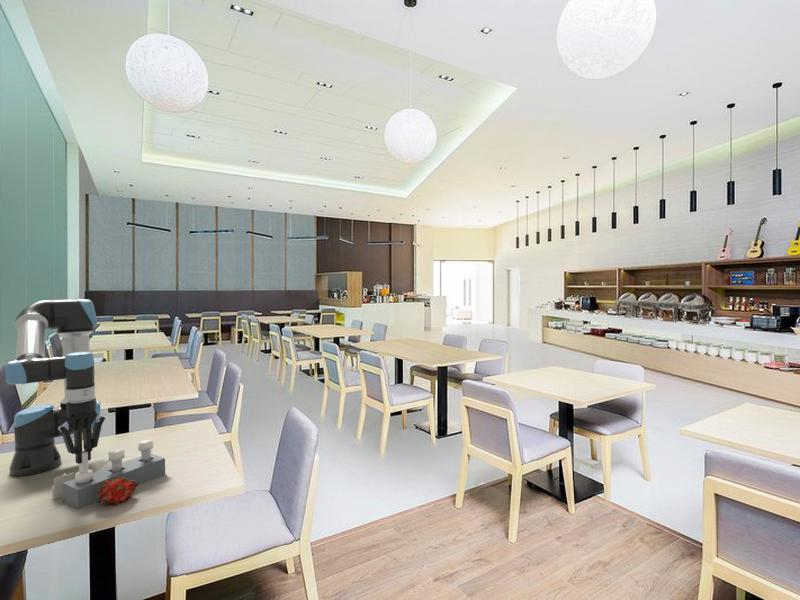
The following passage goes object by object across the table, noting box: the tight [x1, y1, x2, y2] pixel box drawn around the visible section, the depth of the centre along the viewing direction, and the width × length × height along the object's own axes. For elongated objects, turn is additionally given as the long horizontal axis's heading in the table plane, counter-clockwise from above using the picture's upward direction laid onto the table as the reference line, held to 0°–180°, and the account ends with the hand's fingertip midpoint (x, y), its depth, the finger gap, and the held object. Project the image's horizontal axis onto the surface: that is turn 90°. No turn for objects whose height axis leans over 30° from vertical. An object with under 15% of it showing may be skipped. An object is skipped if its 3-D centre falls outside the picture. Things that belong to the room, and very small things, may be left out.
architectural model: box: [51, 471, 75, 500], centre depth 144 cm, size 3×7×7 cm, turn 141°
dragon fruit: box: [96, 477, 139, 505], centre depth 138 cm, size 8×8×12 cm
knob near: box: [74, 468, 94, 485], centre depth 140 cm, size 5×5×8 cm
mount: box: [62, 453, 166, 509], centre depth 148 cm, size 10×28×6 cm, turn 150°
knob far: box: [137, 439, 154, 462], centre depth 157 cm, size 5×5×8 cm
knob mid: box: [107, 448, 125, 473], centre depth 148 cm, size 5×5×8 cm
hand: (83, 471), depth 140 cm, fingers closed
